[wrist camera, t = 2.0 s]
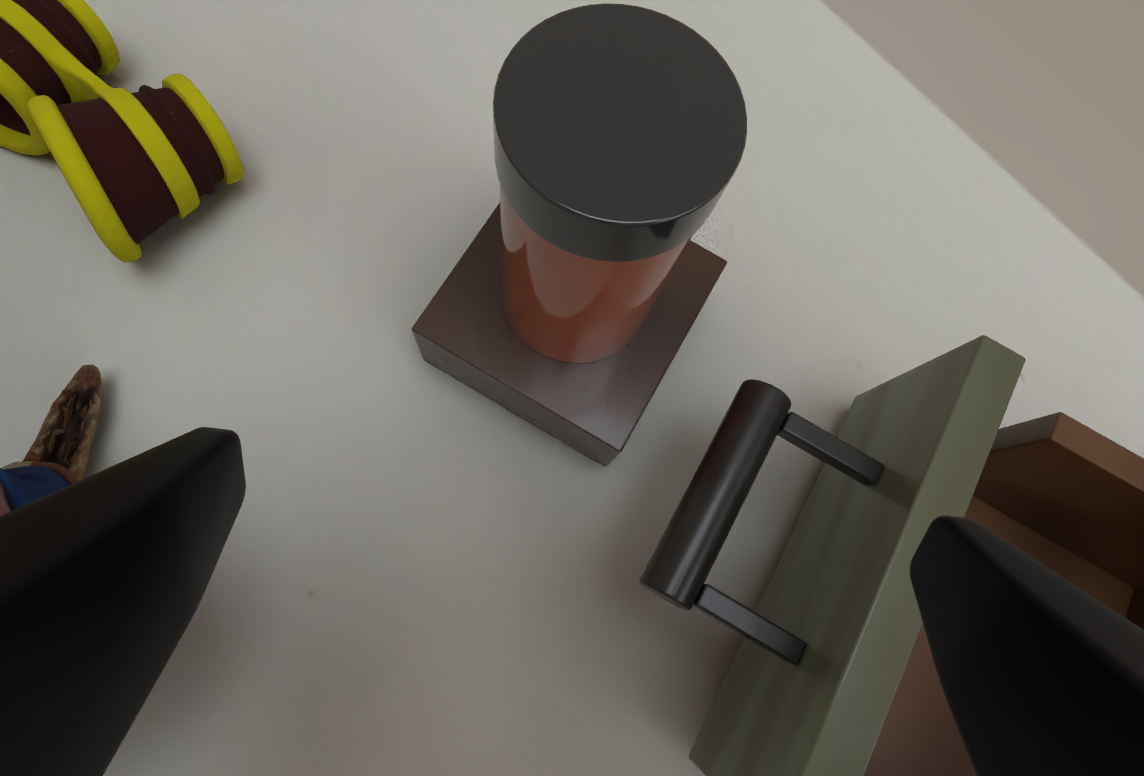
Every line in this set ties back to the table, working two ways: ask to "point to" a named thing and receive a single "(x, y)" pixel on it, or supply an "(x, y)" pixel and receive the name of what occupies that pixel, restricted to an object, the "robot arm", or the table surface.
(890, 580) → the drawer
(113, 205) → the opera glasses
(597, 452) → the stand
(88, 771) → the robot arm
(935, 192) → the table surface
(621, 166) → the shaker
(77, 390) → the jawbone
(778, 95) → the table surface
